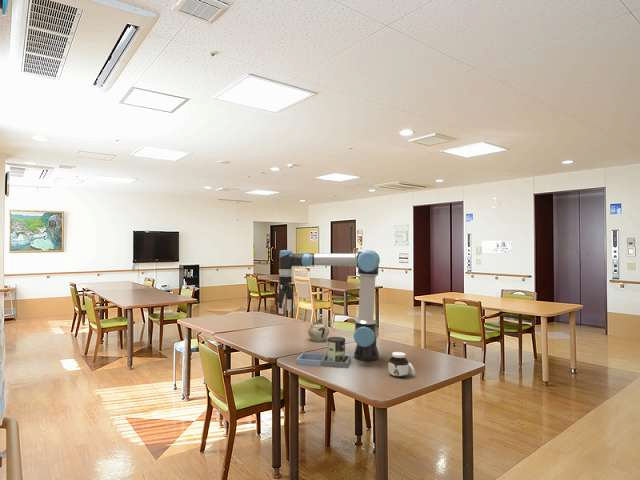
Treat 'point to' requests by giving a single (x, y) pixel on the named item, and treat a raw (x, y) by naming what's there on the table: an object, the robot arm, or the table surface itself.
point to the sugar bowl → (318, 332)
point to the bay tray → (323, 362)
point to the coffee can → (336, 349)
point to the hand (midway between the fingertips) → (285, 311)
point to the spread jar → (400, 366)
